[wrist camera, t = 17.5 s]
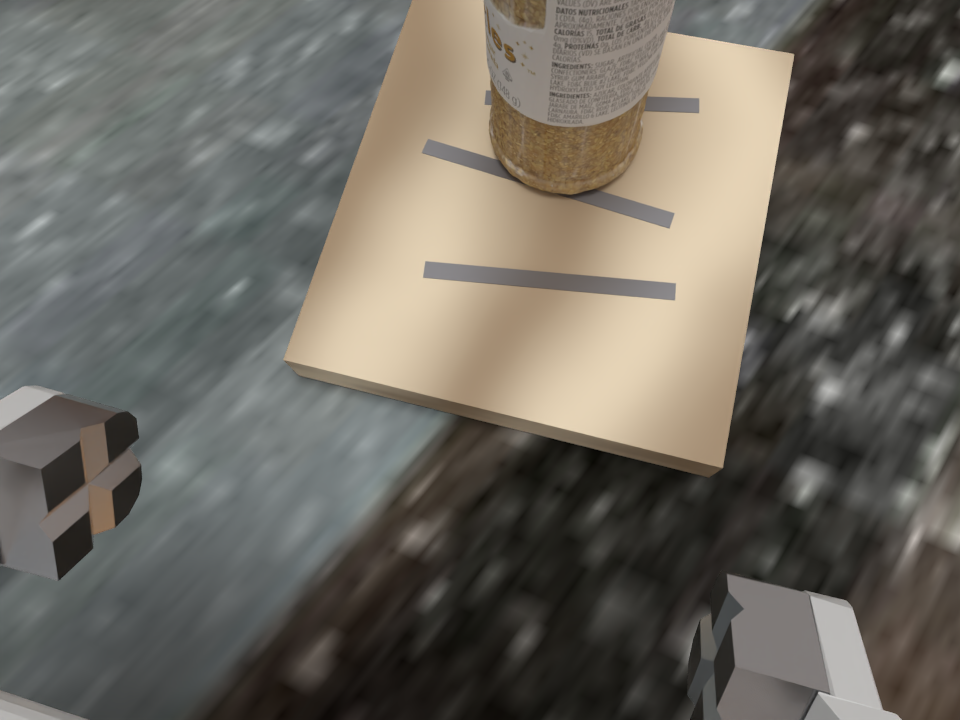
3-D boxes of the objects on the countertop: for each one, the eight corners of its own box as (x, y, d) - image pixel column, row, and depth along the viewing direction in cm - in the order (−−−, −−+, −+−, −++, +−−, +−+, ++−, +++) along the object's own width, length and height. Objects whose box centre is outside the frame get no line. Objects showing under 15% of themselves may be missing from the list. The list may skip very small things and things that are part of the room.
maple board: (298, 375, 22) (282, 359, 21) (422, 22, 26) (416, -12, 24) (708, 477, 21) (722, 467, 19) (778, 86, 24) (794, 53, 23)
